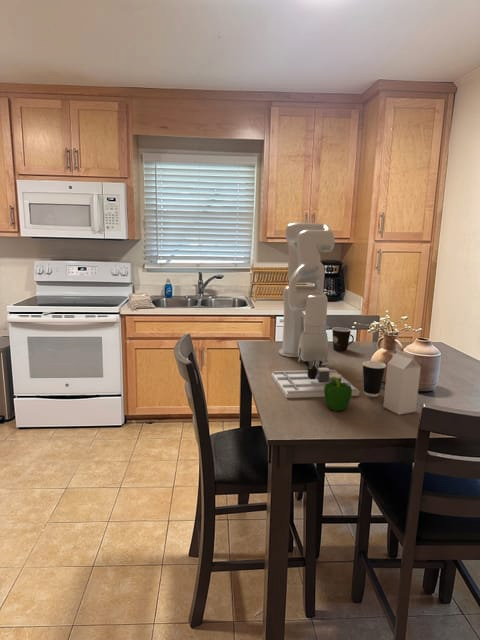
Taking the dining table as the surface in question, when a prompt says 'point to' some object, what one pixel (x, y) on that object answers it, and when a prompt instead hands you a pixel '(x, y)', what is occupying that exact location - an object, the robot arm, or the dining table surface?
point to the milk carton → (402, 383)
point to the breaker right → (336, 377)
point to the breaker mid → (323, 375)
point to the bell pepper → (337, 395)
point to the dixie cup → (372, 377)
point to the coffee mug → (341, 338)
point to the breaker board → (304, 384)
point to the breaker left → (322, 366)
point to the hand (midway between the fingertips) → (311, 378)
